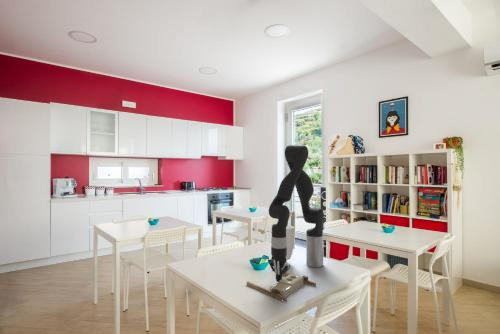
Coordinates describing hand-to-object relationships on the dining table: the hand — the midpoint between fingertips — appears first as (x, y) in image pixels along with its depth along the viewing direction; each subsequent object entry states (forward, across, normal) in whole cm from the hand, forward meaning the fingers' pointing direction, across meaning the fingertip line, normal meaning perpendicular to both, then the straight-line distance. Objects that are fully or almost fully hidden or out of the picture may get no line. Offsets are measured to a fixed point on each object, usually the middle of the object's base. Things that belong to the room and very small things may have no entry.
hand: (278, 281), depth 136 cm
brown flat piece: (+2, -1, 0) cm, 2 cm away
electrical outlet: (+2, -6, 0) cm, 6 cm away
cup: (+2, +17, -26) cm, 31 cm away
